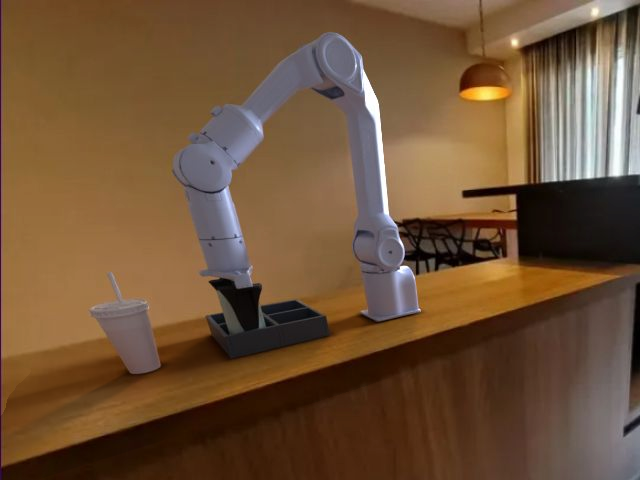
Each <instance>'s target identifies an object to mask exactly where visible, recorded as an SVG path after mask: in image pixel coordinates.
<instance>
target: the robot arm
mask: <svg viewBox="0 0 640 480" xmlns="http://www.w3.org/2000/svg"><path fill="white" fill-rule="evenodd" d="M362 56H363V55H362V54H360V52H359V51H358V50H357V49H356V48H355V47H354V46H353V45H352V44H351V42H349V40H347V39H346V38H345V37H344V36H343V35H342V34H340V33H337V32H333V31H328V32H324V33H322V34H321V35H320V36H319V37H318V38H316V39H315V40H312V41H311V42H309V43H306V44H303V45H301V46H300V47H298V49H297V50H296V51H295V52H293V53H291V54H290V55H288V56H287V57H285V58H283V59H282V60H281V61H279V62H278V63H277V64H276V66H275V67H273V69H272V70H271V71H270V72H269V74H268V75H267V76H265V78H264V79H263V80H262V82H261V83H259V85H258V86H257V87H256V88H255V90H254V91H253V92H252V93H251V94H250V95H249V96H248V98H247V99H246V100H244V102H243V103H242V104H241V105H237V104H231V103H225V105H223V106H222V107H221V106H220V105H216V106H214V107H213V108H212V109H211V110H210V112H209V113H210V114H211V116H213V117H212V118H211V119H210V120H209V121H208V122H207V123H206V124H205V125H204V126H203V127H202V128H201V129H200V130H199V131H198V133H195V132H191V133H190V134H189V135H188V136H187V140H188V141H189V142H191V144H188V145H186V146H185V147H184V148H181V149H179V150H178V151H177V152H176V153H175V154H174V156H173V158H172V159H173V162H172V169H171V172H172V174H173V176H174V177H175V179H176V180H177V182H178V183H179V184H181V185H182V186H183V190H184V196H185V198H186V201H187V209H188V211H189V214H190V217H191V220H192V223H193V228H194V230H195V233H196V237H197V239H198V243H199V245H200V249H201V251H202V255H203V258H204V261H205V264H206V269H201V270H198V272H199V275H200V276H201V277H203V278H205V277H213V278H216V279H210V280H208V284H209V285H211V287H212V288H213V289H214V291H217V290H218V291H220V293H221V294H222V295H223V296H224V297H225V298H226V299H227V301H228V302H229V304H230V305H231V307H232V309H233V311H234V313H235V315H236V317H237V319H238V321H239V323H240V325H241V327H242V328H243V329H244V331H248V330H253V329H258V328H259V303H260V298H261V294H262V291H263V284H261V283H260V282H257V283H253V281H252V278H251V275H252V273H253V272H254V266H253V264H251V260H250V257H249V253H248V250H247V245H246V241H245V238H244V236H243V235H244V234H243V231H242V227H241V223H240V221H239V216H238V213H237V209H236V205H235V203H234V202H233V197H232V194H231V190H230V187H229V185H230V184H231V182H232V177H233V174H232V173H233V172H232V171H237V170H238V169H239V168H240V167H241V165H242V164H243V163H244V162H245V161H246V160H247V159H248V158H249V157H250V155H251V154H253V152H254V151H256V149H257V148H258V147H259V146H260V145H261V144H262V143H263V142H264V140H265V138H264V137H265V135H264V128H263V127H264V124H265V123H266V122H268V120H269V119H271V117H273V115H274V114H275V113H276V112H277V111H279V110H280V108H282V106H284V104H286V103H287V101H289V100H290V99H291V98H292V97H293V96H294V95H295V94H296V93H297V92H304V91H306V90H309V89H310V90H311V91H312V92H315V94H318V95H319V96H322V97H323V98H325V99H327V100H329V101H330V102H332V103H333V104H334V105H335V106H336V107H337V108H338V109H339V110H340V111H341V112H342V113H343V114H344V115H345V117H346V125H347V133H348V143H349V150H350V159H351V168H352V176H353V183H354V184H353V185H354V192H355V199H356V200H355V202H356V208H357V209H356V210H357V217H356V219H355V221H354V223H353V231H354V233H353V234H354V235H353V238H352V241H351V251H352V254H353V256H354V258H355V259H356V260H357V261H358V262H359V263H360V272H361V278H362V283H363V289H364V297H365V302H366V308H367V309H364V310H360V312H359V313H360V315H363V316H365V317H367V318H369V319H371V320H373V321H375V322H384V321H387V320H393V319H395V318H400V317H404V316H409V315H413V314H417V313H421V312H422V311H421V309H420V308H419V299H418V293H417V283H416V278H415V275H414V273H413V271H412V269H411V268H410V267H409V266H407V265H402V263H403V262H404V258H405V255H406V253H405V246H404V243H403V242H402V240H401V238H400V234H399V227H398V225H397V224H396V223H395V222H394V220H393V218H392V217H391V215H390V212H389V203H388V202H389V201H388V193H387V191H388V190H387V182H386V171H385V170H386V169H385V160H384V150H383V149H384V148H383V139H382V128H381V118H380V117H381V116H380V107H379V101H378V99H377V96H376V95H375V93H374V90H373V88H372V85H371V83H370V81H369V79H368V76H367V74H366V72H365V70H364V64H363V57H362Z"/></svg>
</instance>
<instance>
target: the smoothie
mask: <svg viewBox="0 0 640 480" xmlns="http://www.w3.org/2000/svg"><path fill="white" fill-rule="evenodd" d="M106 275H107V277H108V279H109V282H110V284H111V287H112V289H113V291H114V294H115V296H116V298H117V300H113V301H112V300H111V301H107V302H103V303H100V304H96V305H92V307H90V308H88V311H89V313H90V317H91V318H93V319H95V320H96V322H97V323H98V325H99V326H100V328H101V329H102V331H103V332H104V334H105V335H106V338H107V339H108V340H109V342H110V343H111V345H112V347H113V348H114V350H115V352H116V353H117V355H118V356H119V358H120V359H121V361H122V363H123V364H124V366H125V367H126V369H127V371H128V372H129V374H133V375H139V374H146V373H150V372H153V371H156V370H158V369H159V368H161V366H162V365H161V360H160V355H159V351H158V348H157V343H156V339H155V334H154V331H153V327H152V322H151V318H150V313H149V309H150V308H151V307H150V306H151V305H149V302H148V300H146V299H143V298H127V299H124V297H123V296H122V295H123V294H122V293H121V291H120V288H119V286H118V284H117V281H116V278H115V276H114V274H113V271H106Z"/></svg>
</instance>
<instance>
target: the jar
mask: <svg viewBox="0 0 640 480" xmlns="http://www.w3.org/2000/svg"><path fill="white" fill-rule="evenodd" d="M215 291H216V290H215ZM216 295H217V298H218V301H219V305H220V307H221V311H222V313H223V314H224V317H225V320H226V324H227V327H228V330H229V333H230V335H231V334H236V333H241V332H245V331H244V329H243V328H242V327H241V325H240V323H239V321H238V319H237V317H236V315H235V313H234V311H233V309H232V307H231V305H230V304H229V302H228V301H227V299H226V298H225V297H224V296H223V295H222V294H221V293H220V291H218V290H217V291H216ZM261 306H262V305H261V302H259V328H258V329H260V328H265V327H266V325H265V321H264V317H263V314H262V310H261ZM253 330H255V329H253ZM248 331H250V330H248Z"/></svg>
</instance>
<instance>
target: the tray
mask: <svg viewBox="0 0 640 480" xmlns="http://www.w3.org/2000/svg"><path fill="white" fill-rule="evenodd" d="M260 306H261V310H262V314H263V317H264V321H265V325H266V327H265V328H260V329H255V330H250V331H245V332H241V333H236V334H231V335H230V333H229V330H228V327H227V324H226V320H225V317H224V314H223V312H218V313H211V314H207V315H205V319H206V323H207V325H208V329H209V332H210V334H211V336H212V337H213V338H214V340H215V341H216V342H217V343H218V344H219V346H220V347H221V348H222V349H223V351H224V352H225V353H226V354H227V355H228V357H229V358H230V359H231V360H232V359H237V358H241V357H245V356H250V355H254V354H258V353H261V352H267V351H270V350H275V349H278V348H279V349H280V348H283V347H286V346H287V347H288V346H292V345H296V344H301V343H304V342H309V341H313V340H318V339H320V338H321V339H322V338H326V337H329V336H331V333H330V327H329V322H328V318H327V315H326V314H324V313H322V312H320V311H318V310H317V309H316V308H313V307H312V306H310V305H308V304H306V303H304V302H303V301H300V300H299V299H291V300H290V299H289V300H284V301H279V302H274V303H267V304H262V305H260Z"/></svg>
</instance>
